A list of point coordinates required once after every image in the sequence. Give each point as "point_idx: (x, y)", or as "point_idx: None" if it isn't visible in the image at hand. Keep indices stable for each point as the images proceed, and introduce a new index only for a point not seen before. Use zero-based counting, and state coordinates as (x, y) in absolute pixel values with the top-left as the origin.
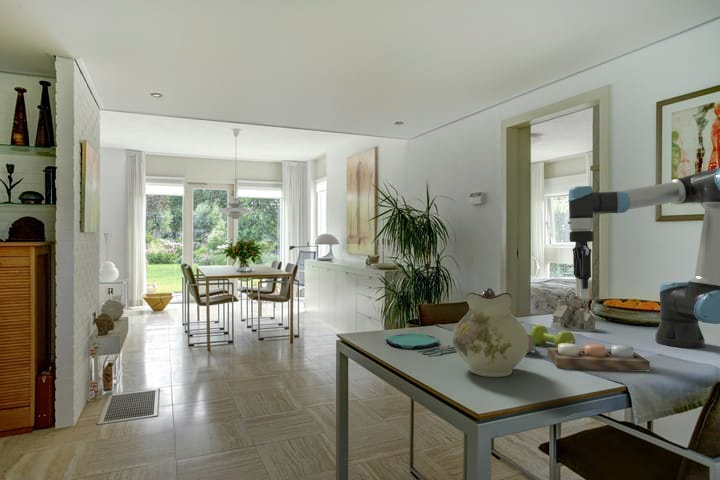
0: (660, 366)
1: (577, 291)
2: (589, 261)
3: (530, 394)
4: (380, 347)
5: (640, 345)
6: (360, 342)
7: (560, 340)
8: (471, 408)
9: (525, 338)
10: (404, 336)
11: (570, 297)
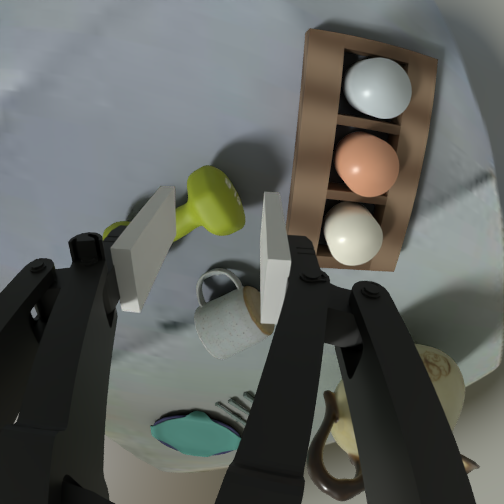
0: (377, 2)
1: (168, 243)
2: (443, 441)
3: (484, 324)
4: (233, 455)
5: None
6: (206, 465)
7: (243, 225)
8: (488, 372)
9: (457, 373)
10: (169, 440)
11: None
